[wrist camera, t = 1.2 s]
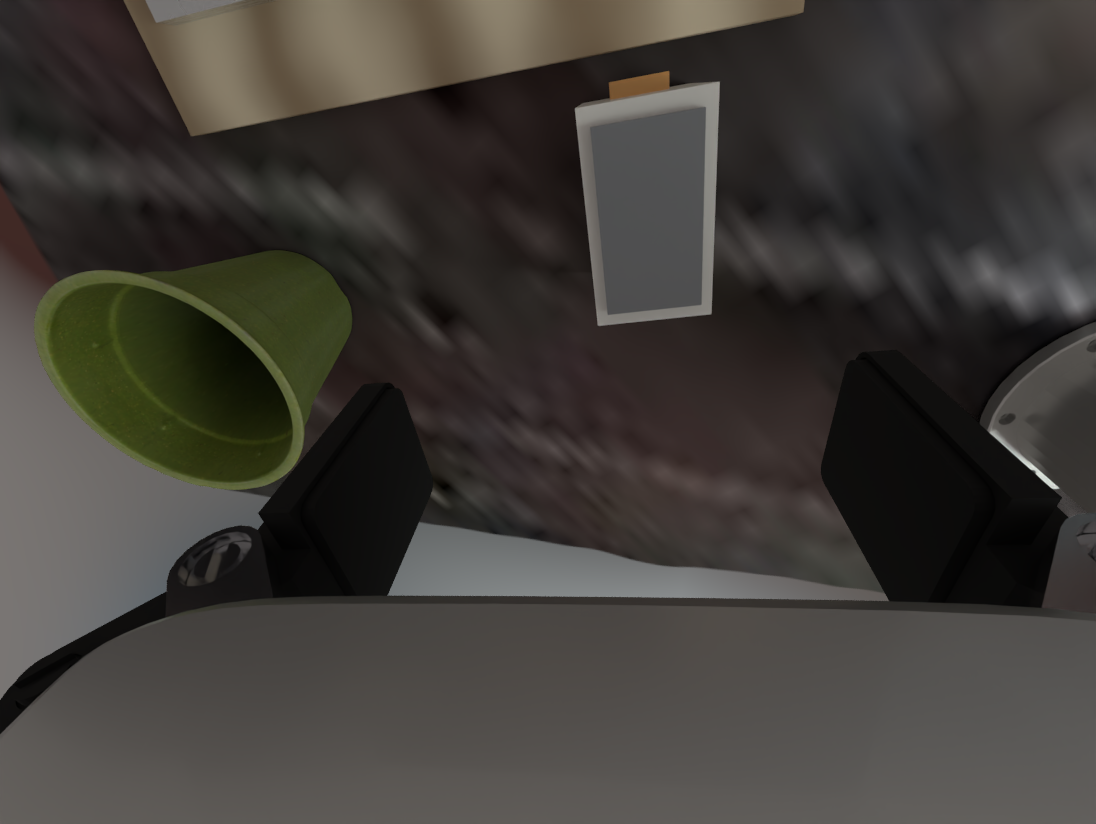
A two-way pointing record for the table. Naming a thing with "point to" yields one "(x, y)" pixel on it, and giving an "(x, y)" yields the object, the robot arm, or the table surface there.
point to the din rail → (195, 9)
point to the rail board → (399, 47)
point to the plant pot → (198, 361)
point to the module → (650, 197)
